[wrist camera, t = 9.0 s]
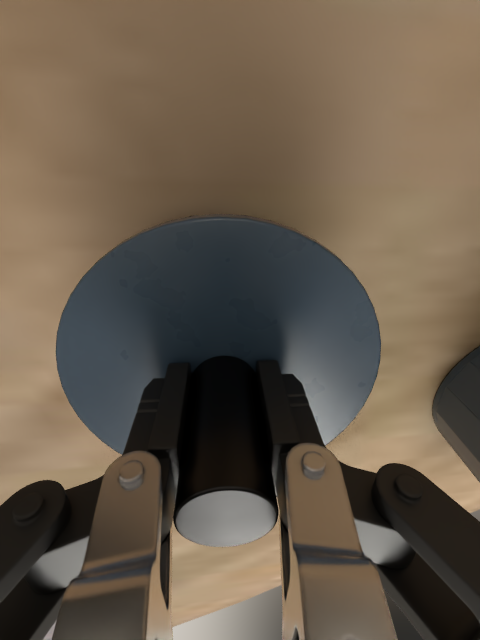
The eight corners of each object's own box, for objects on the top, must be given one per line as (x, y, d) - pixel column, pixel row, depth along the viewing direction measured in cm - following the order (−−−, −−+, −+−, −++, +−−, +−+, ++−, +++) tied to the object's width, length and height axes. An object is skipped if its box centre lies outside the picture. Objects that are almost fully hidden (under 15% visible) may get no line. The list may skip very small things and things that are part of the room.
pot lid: (217, 116, 8) (211, 42, 3) (420, 355, 12) (566, 500, 7) (11, 368, 12) (-162, 544, 6) (227, 486, 16) (230, 648, 11)
